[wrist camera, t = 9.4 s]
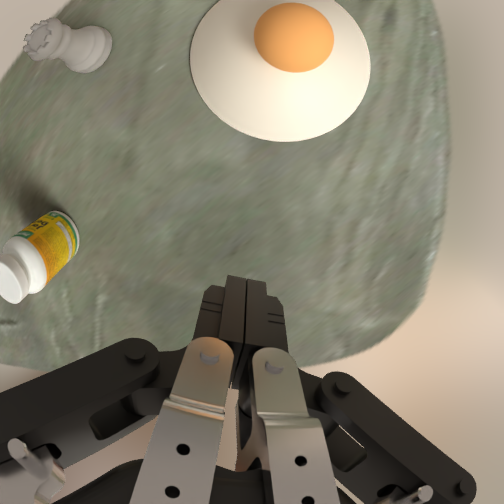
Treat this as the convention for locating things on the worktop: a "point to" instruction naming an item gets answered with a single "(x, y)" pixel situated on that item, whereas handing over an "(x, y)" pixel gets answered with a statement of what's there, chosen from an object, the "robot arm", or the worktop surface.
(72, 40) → the rook chess piece
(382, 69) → the worktop surface
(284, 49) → the egg
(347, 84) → the disc
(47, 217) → the supplement bottle
